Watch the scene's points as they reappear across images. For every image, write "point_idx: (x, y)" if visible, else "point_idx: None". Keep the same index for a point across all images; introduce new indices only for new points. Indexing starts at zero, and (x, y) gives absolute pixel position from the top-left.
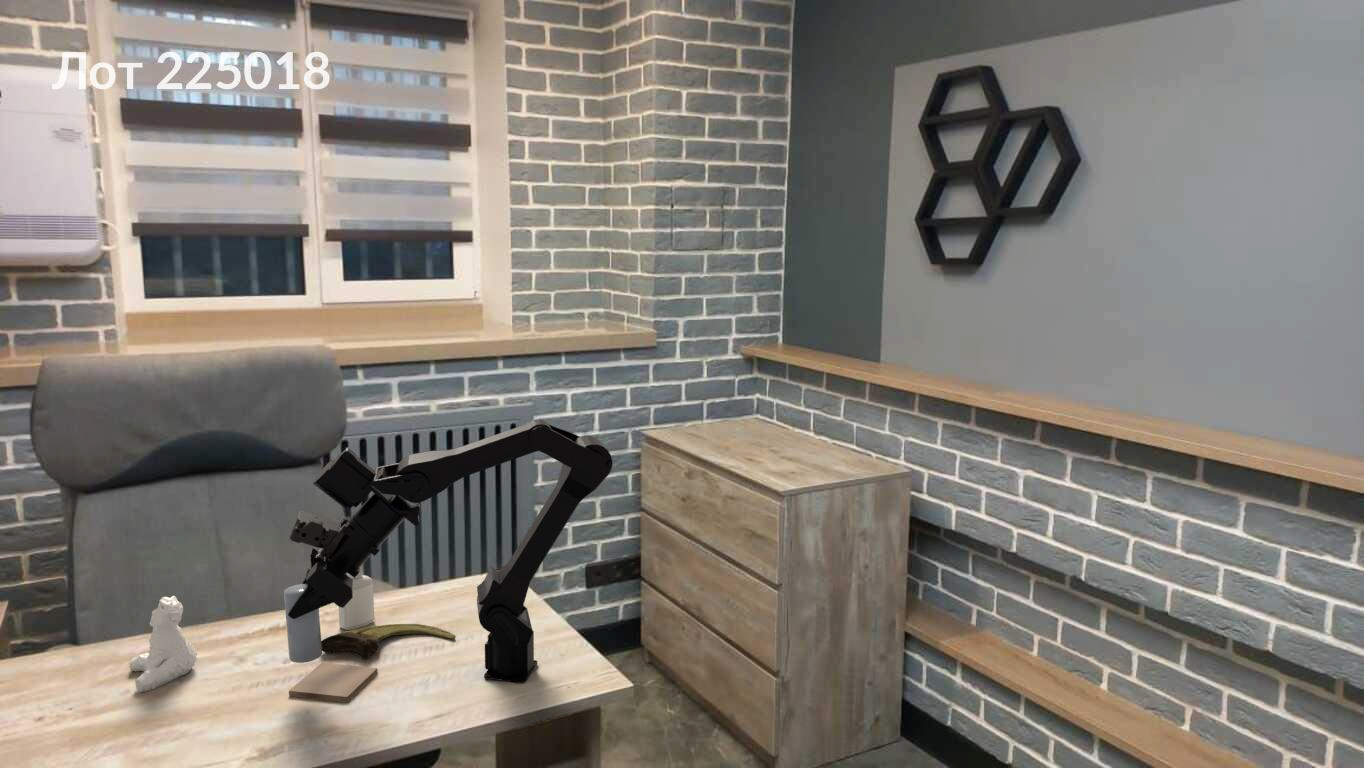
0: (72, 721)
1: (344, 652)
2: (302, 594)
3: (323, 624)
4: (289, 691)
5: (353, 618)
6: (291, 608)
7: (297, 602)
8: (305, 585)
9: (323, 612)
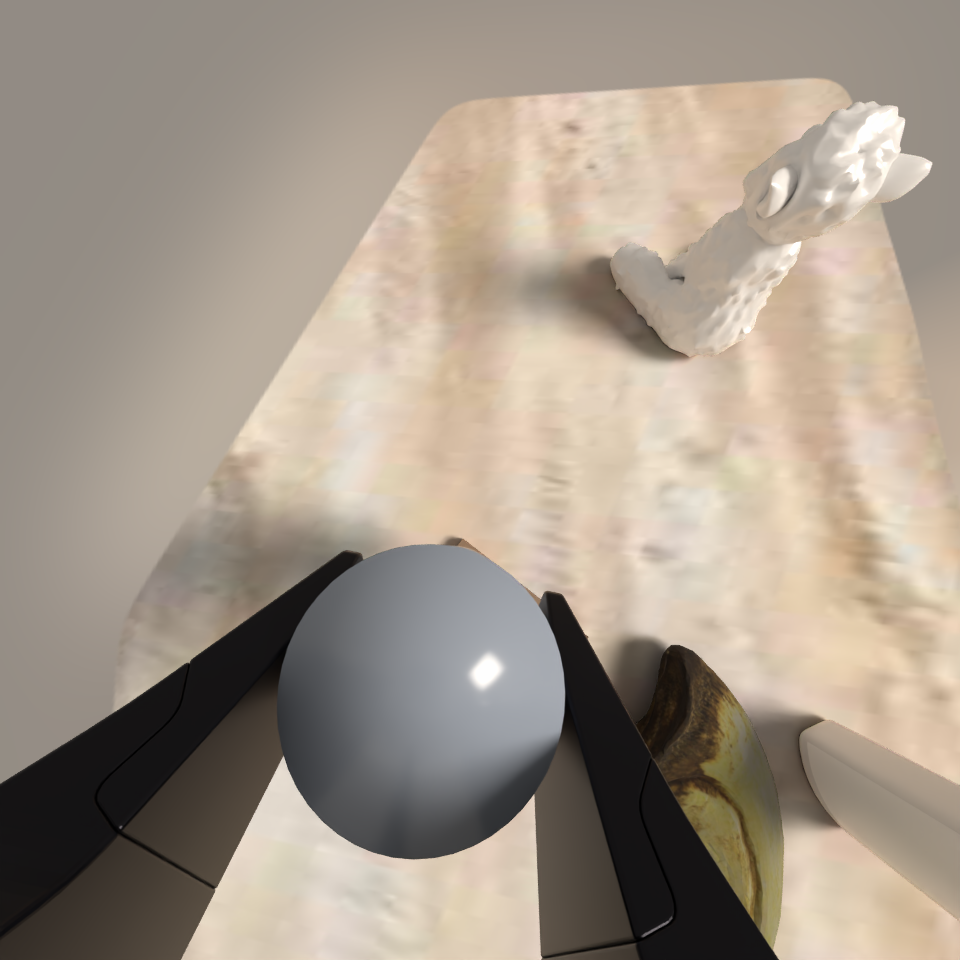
0: (537, 170)
1: (653, 703)
2: (134, 701)
3: (860, 674)
4: (461, 540)
5: (834, 779)
6: (330, 576)
7: (243, 626)
8: (506, 747)
9: (947, 687)
